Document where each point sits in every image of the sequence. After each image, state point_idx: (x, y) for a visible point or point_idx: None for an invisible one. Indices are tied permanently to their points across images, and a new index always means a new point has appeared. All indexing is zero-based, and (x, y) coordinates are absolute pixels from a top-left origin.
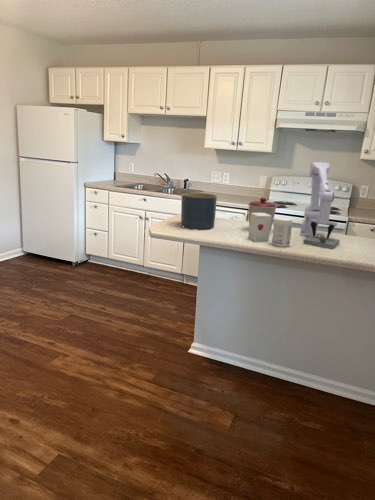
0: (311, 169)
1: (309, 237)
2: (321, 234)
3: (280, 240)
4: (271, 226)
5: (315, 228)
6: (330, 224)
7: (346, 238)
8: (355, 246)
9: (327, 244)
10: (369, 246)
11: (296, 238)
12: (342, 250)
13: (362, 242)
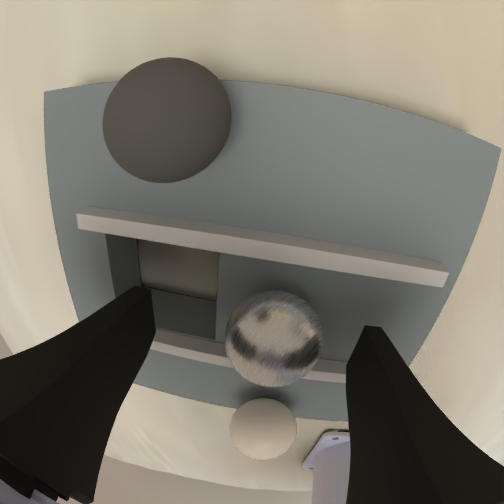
0: None
1: (430, 269)
2: (240, 361)
3: None
4: None
5: (367, 462)
6: (19, 501)
7: (149, 448)
8: (30, 320)
9: (112, 83)
10: (11, 347)
11: (491, 336)
12: (19, 126)
13: None
